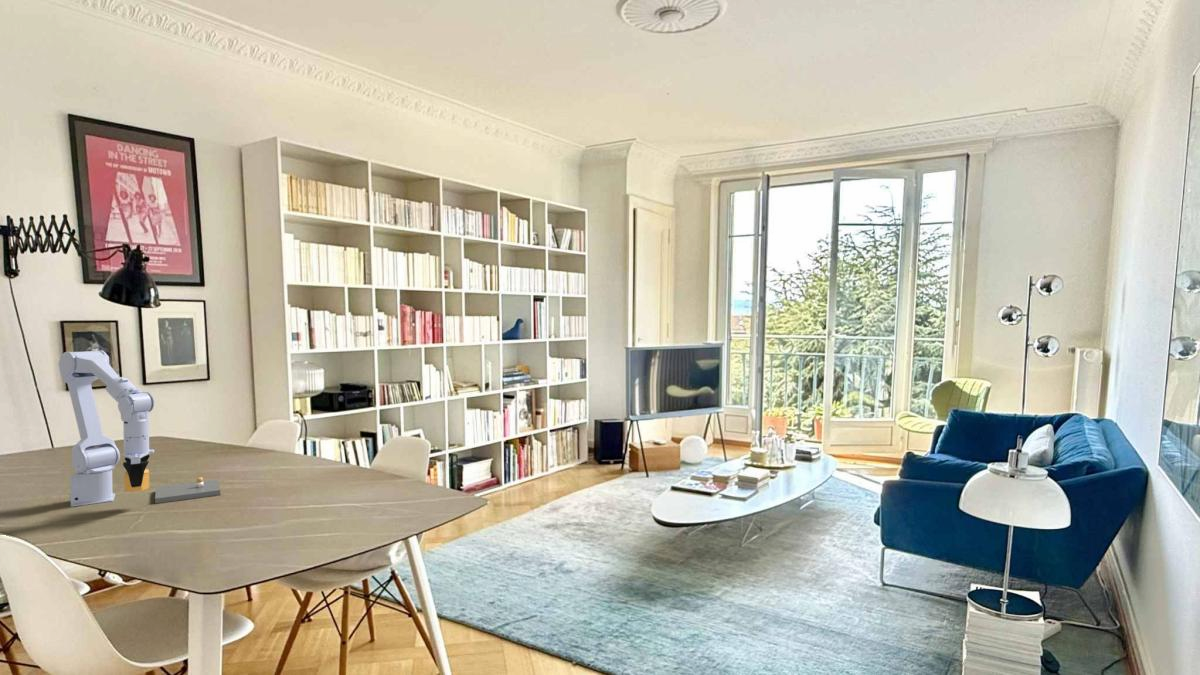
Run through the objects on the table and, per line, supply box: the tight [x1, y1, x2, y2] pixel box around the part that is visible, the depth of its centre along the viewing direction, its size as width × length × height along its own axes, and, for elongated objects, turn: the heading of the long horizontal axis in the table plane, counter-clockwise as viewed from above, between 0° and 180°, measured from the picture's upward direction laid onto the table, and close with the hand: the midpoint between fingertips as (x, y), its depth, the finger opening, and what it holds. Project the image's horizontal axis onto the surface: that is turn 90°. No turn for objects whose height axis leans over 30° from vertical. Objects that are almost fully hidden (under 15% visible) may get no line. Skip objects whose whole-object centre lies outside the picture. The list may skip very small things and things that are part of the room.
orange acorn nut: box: [123, 468, 150, 493], centre depth 171 cm, size 5×6×5 cm
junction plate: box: [154, 476, 221, 504], centre depth 186 cm, size 16×14×4 cm
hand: (136, 483), depth 171 cm, fingers closed on orange acorn nut, 5 cm apart
